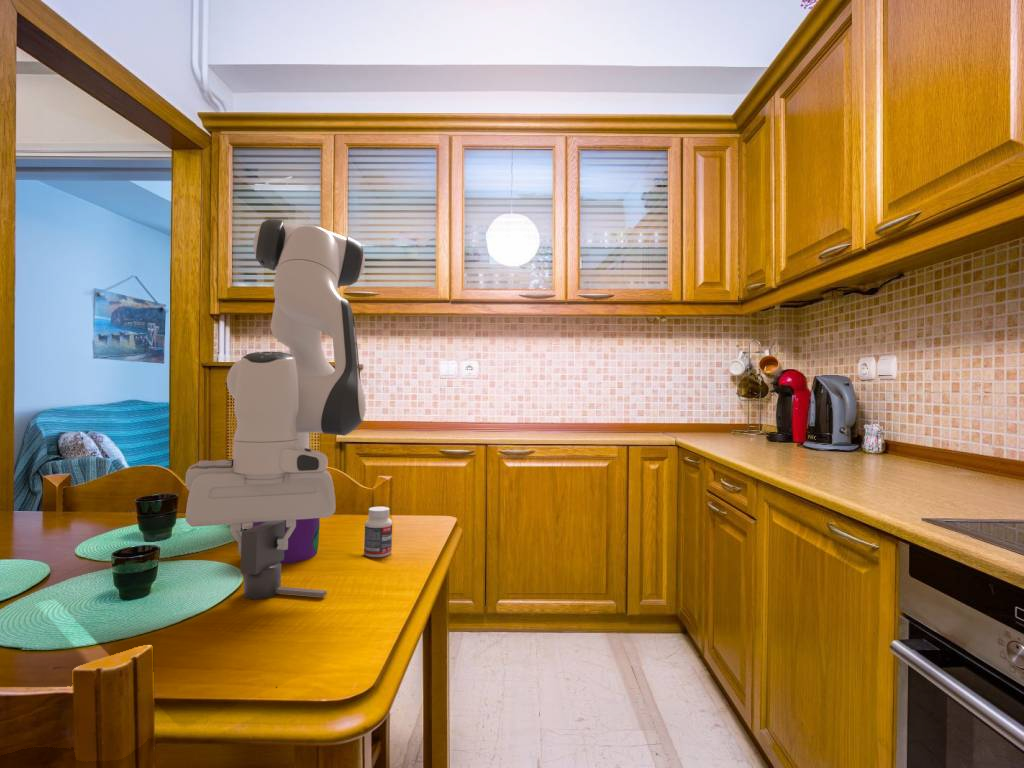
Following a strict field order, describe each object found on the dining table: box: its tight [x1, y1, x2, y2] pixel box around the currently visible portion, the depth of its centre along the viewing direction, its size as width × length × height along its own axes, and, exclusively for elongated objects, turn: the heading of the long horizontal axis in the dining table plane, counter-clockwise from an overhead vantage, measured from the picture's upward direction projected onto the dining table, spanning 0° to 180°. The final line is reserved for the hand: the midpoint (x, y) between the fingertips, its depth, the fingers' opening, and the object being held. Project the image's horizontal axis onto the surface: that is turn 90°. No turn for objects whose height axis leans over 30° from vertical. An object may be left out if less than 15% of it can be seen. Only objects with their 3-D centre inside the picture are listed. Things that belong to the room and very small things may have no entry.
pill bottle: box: [363, 506, 393, 559], centre depth 103 cm, size 5×5×9 cm
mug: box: [253, 518, 321, 565], centre depth 99 cm, size 17×11×10 cm, turn 14°
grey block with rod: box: [240, 521, 328, 600], centre depth 78 cm, size 12×7×10 cm, turn 82°
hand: (263, 550), depth 78 cm, fingers closed on grey block with rod, 4 cm apart
